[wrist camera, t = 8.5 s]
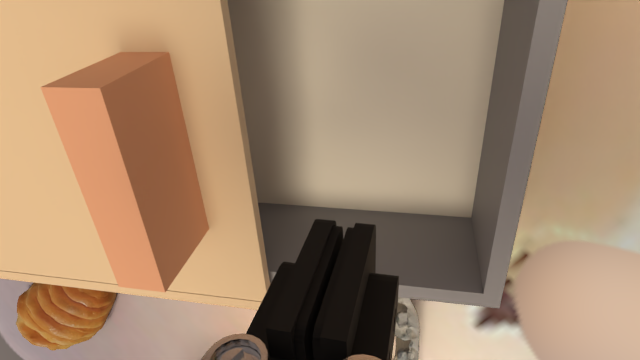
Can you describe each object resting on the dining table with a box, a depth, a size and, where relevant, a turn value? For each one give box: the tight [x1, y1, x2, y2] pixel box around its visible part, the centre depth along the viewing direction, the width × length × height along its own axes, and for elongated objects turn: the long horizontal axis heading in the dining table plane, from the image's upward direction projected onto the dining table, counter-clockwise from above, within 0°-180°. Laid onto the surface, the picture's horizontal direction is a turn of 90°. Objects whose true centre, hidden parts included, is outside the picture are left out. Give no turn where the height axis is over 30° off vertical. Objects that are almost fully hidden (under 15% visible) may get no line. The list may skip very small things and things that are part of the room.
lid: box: [0, 0, 271, 310], centre depth 19 cm, size 21×18×6 cm
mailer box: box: [227, 0, 568, 308], centre depth 21 cm, size 20×16×6 cm
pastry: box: [16, 283, 117, 350], centre depth 36 cm, size 9×7×4 cm
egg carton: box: [394, 297, 420, 360], centre depth 30 cm, size 11×8×4 cm
